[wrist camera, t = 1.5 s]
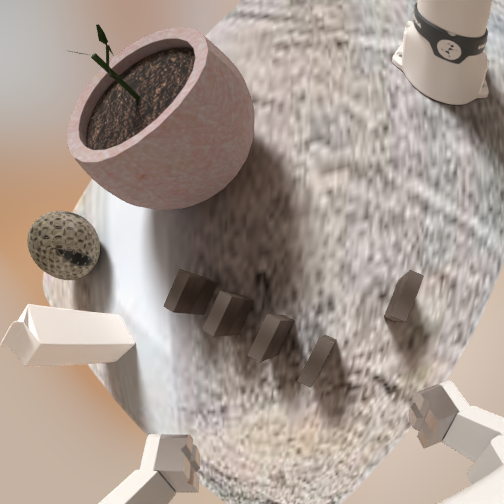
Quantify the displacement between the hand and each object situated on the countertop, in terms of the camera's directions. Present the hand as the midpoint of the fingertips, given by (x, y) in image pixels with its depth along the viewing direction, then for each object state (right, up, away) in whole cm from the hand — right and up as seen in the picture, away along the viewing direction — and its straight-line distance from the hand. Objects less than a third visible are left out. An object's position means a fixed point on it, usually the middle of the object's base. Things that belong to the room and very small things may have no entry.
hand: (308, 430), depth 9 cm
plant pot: (-10, +21, +39) cm, 46 cm away
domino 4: (+7, -7, +27) cm, 29 cm away
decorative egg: (-32, +6, +43) cm, 54 cm away
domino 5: (+16, 0, +26) cm, 30 cm away
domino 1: (-8, 0, +34) cm, 35 cm away
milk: (-25, -9, +37) cm, 46 cm away
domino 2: (-3, -2, +32) cm, 32 cm away
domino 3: (+2, -5, +29) cm, 30 cm away
